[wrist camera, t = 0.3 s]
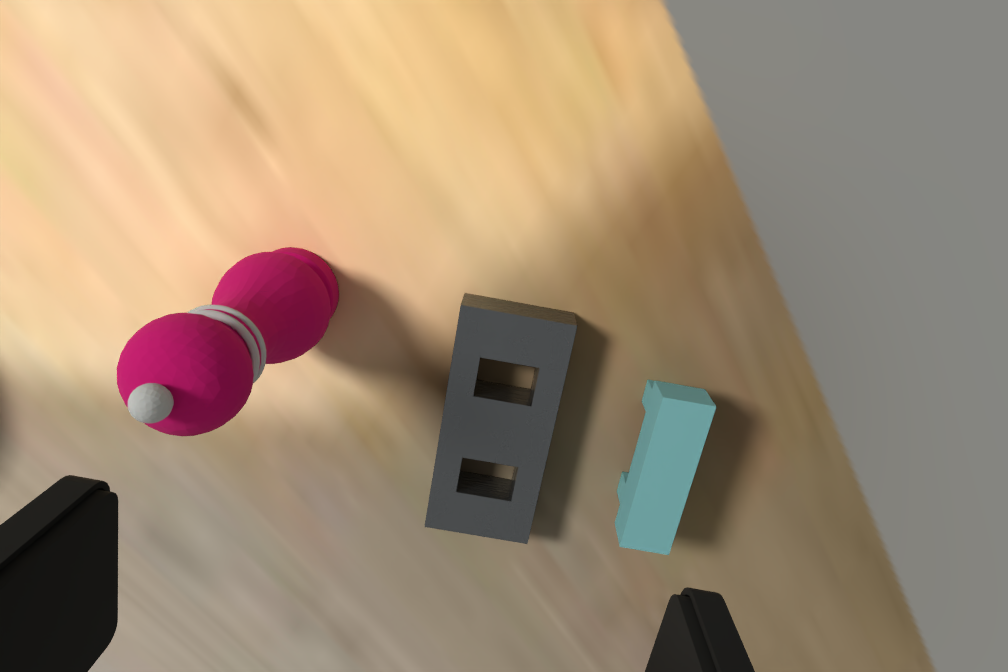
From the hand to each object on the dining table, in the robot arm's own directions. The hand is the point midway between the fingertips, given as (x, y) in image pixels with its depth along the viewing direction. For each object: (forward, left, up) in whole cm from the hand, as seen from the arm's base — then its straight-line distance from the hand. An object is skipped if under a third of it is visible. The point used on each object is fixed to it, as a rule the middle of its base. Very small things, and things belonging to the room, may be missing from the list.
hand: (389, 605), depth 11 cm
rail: (+14, +3, -36) cm, 38 cm away
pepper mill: (+7, -13, -36) cm, 39 cm away
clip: (+14, +15, -36) cm, 41 cm away
